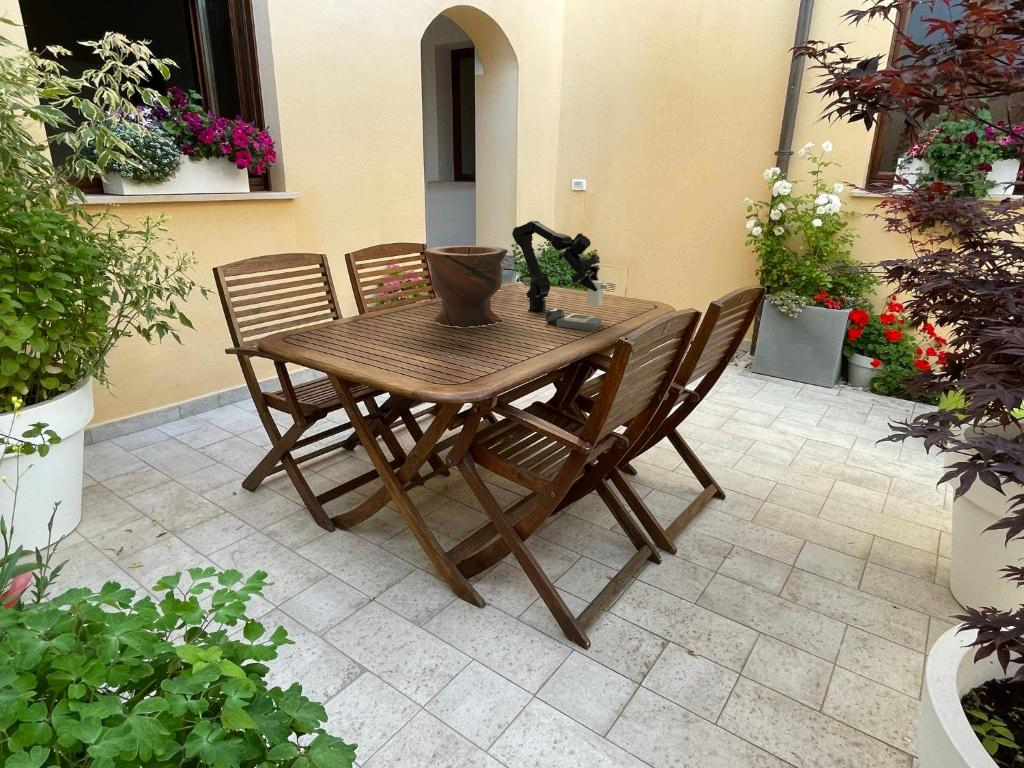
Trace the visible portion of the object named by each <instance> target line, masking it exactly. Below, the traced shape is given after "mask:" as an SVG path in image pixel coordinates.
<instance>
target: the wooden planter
mask: <svg viewBox="0 0 1024 768" xmlns="http://www.w3.org/2000/svg"><path fill="white" fill-rule="evenodd" d="M423 254H424V255H425V257H426V259H427V260H428V261H429V263H430V273H431V275H430V276H431V289H432V290H433V291H434V292H435V293H436V294H437V295H438V296H439V297H440V299H441V309H439V312H438V313H437V314H436V316H435V317H434V318H435V322H438V323H440V324H443V325H449V326H459V327H469V326H479V325H480V326H482V325H488V324H494V323H496V322H498V321H500V319H501V317H500V316H499V315H498V314H496V312H494V310H492V309H491V304H492V303H491V298H492V297H493V296H494V295H495V294H496V293H497V292H498V291H500V289H501V287H502V263H503V260H504V259H505V257H506V255H507V254H508V250H507V249H506V248H503V247H498V246H486V245H485V246H484V245H447V246H446V245H445V246H435V247H431V248H426V249H425V250H424V251H423ZM499 317H500V318H499Z"/></svg>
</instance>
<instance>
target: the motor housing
mask: <svg viewBox="0 0 1024 768" xmlns="http://www.w3.org/2000/svg"><path fill="white" fill-rule="evenodd" d="M544 317H545V322H546V323H549V324H556V326H557V327H556V328H563V327H565V328H564V329H571V328H575V329H574V330H579V329H583V330H582V331H586V330H591V331H590V332H594V331H596V330H598V329H600V328H601V327H602V326H603V318H597V317H595V315H591V314H583V313H575V312H574V313H571V314H565V310H563V309H559V308H546V310H545V316H544ZM600 326H601V327H600ZM597 328H598V329H597ZM595 329H596V330H595Z"/></svg>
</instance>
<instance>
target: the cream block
mask: <svg viewBox="0 0 1024 768" xmlns="http://www.w3.org/2000/svg"><path fill="white" fill-rule="evenodd" d="M598 280H599V279H598ZM598 280H592V282H593V283H594V285H595V287H596V288H597V291H596V292H595V291H593V290H591V289H589V288H587V296H586V297H587V299H586V306H588V307H589V306H590V307H597V308H599V307H601V306H603V301H604V299H603V298H604V290H607V284H604V283H605V280H599V281H598Z"/></svg>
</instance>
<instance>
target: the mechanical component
mask: <svg viewBox="0 0 1024 768" xmlns="http://www.w3.org/2000/svg"><path fill="white" fill-rule="evenodd" d="M527 281H528V282H527ZM530 281H531V277H523V278H522V279H521V282H522V283H523V285H524V287H529V289H530V288H531V287H530Z"/></svg>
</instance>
